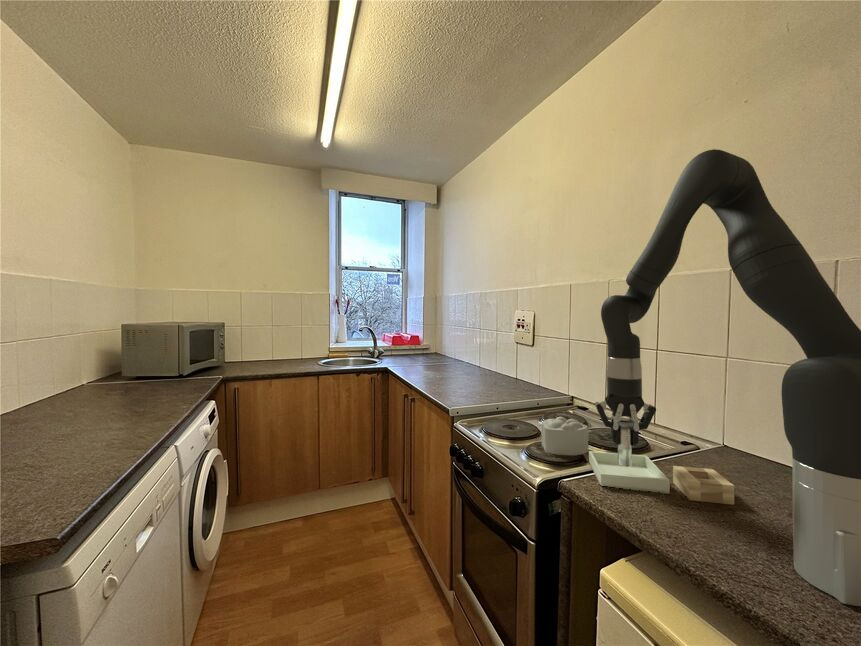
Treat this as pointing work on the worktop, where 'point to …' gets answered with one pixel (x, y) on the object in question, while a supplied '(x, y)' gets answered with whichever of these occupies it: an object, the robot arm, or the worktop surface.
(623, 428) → the pin
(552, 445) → the lumpy-topped squat cylinder
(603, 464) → the parts tray
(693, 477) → the frame
